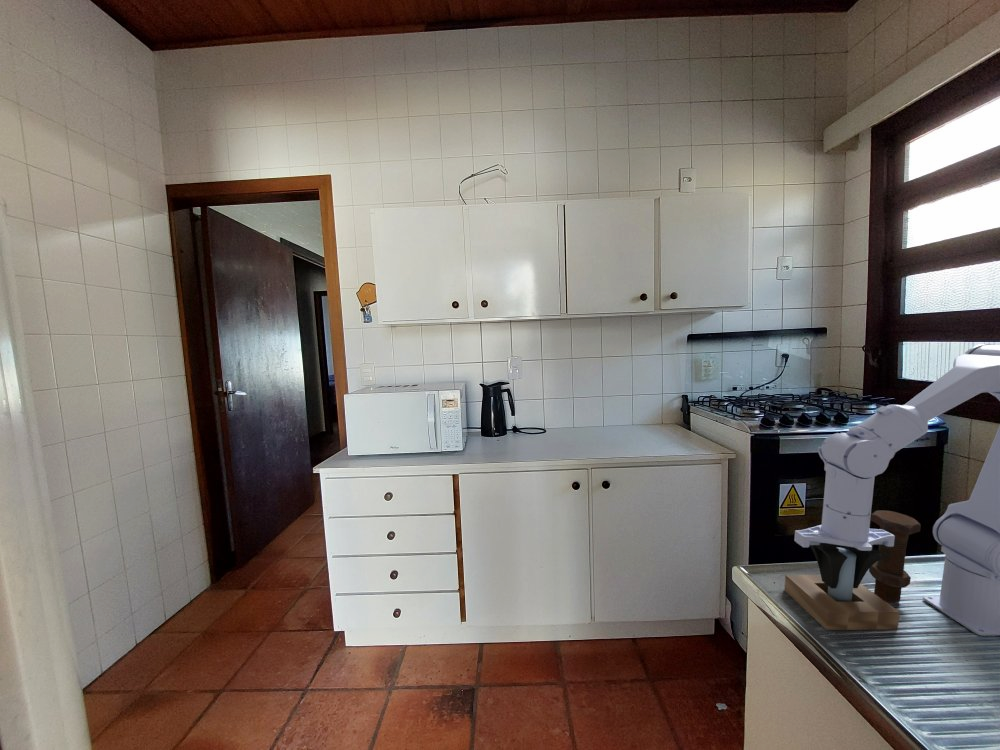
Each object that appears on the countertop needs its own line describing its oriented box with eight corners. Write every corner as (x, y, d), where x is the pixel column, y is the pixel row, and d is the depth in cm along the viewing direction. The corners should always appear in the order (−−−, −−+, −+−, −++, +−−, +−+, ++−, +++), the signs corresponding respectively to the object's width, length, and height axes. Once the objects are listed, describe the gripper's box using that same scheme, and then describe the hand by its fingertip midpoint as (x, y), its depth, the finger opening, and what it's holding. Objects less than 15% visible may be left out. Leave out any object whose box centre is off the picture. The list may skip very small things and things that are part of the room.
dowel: (838, 597, 65) (843, 546, 63) (855, 611, 62) (861, 557, 60) (822, 599, 64) (826, 547, 63) (838, 612, 62) (844, 558, 60)
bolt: (918, 612, 62) (929, 527, 60) (882, 608, 63) (892, 524, 61) (890, 588, 68) (899, 510, 66) (857, 585, 69) (865, 508, 67)
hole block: (846, 589, 68) (847, 574, 67) (897, 629, 59) (899, 611, 58) (784, 590, 68) (785, 574, 68) (826, 629, 59) (827, 612, 59)
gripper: (821, 520, 57) (814, 601, 59) (918, 519, 57) (908, 601, 59) (787, 499, 64) (782, 572, 66) (873, 498, 64) (866, 572, 66)
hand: (839, 584), depth 63 cm, fingers closed on dowel, 3 cm apart
